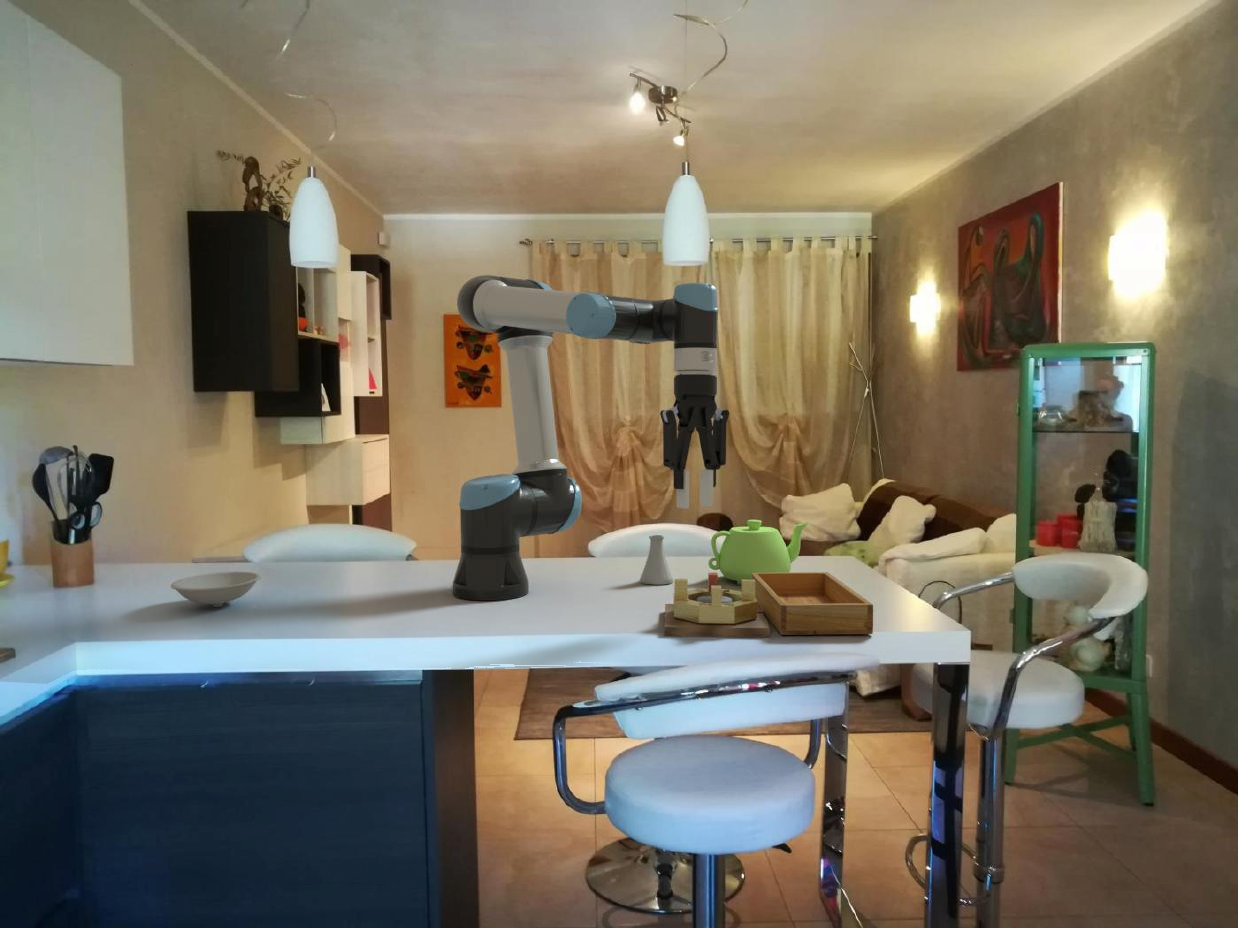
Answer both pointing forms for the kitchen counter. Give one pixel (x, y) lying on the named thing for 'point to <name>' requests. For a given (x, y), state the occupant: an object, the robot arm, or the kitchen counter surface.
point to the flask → (656, 564)
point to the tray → (812, 604)
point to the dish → (216, 586)
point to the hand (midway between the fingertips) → (694, 506)
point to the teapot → (754, 551)
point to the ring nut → (715, 602)
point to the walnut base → (715, 624)
